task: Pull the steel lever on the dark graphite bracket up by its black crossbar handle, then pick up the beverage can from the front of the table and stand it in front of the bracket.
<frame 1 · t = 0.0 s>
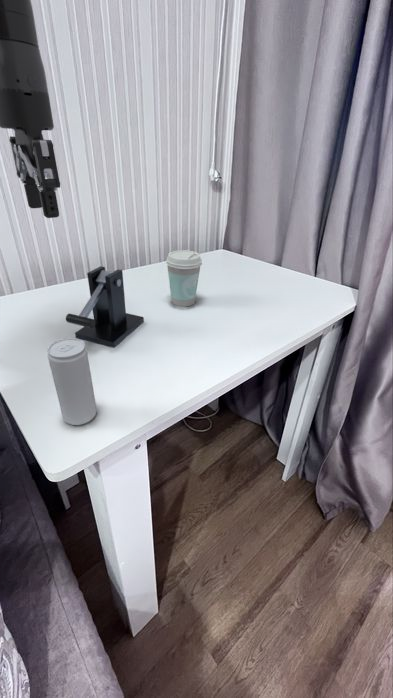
hand: (43, 212, 55), 24 cm above the table, tool pointing down, fingers open, 8 cm apart
beverage can: (80, 416, 49), on the table
coffee cup: (183, 302, 84), on the table
lever: (94, 298, 63), point 9 cm above the table, hinge at -28.0°
bracket: (111, 329, 71), on the table
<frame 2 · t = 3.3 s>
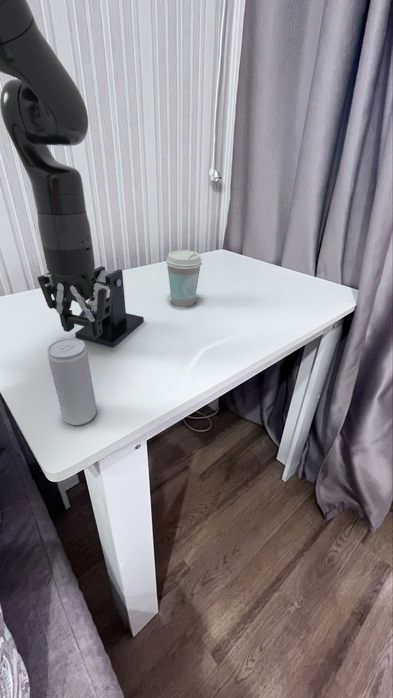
hand: (82, 332, 62), 4 cm above the table, tool pointing down, fingers closed on lever, 5 cm apart
lever: (94, 298, 63), point 9 cm above the table, hinge at -28.0°, touching gripper
everything else where it was.
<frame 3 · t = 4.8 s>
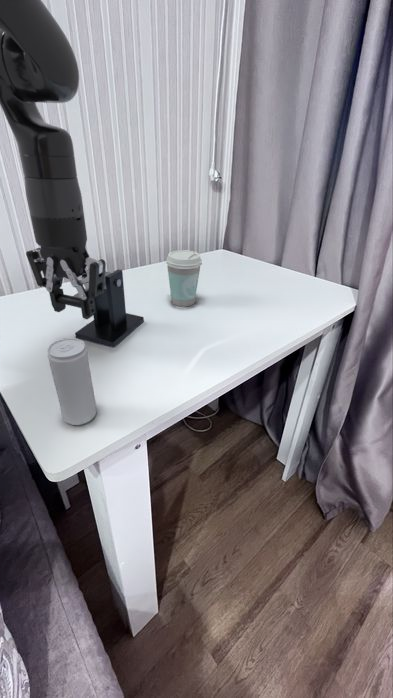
hand: (74, 313, 58), 8 cm above the table, tool pointing down, fingers closed on lever, 5 cm apart
lever: (91, 289, 61), point 11 cm above the table, hinge at -1.7°, touching gripper
everything else where it was.
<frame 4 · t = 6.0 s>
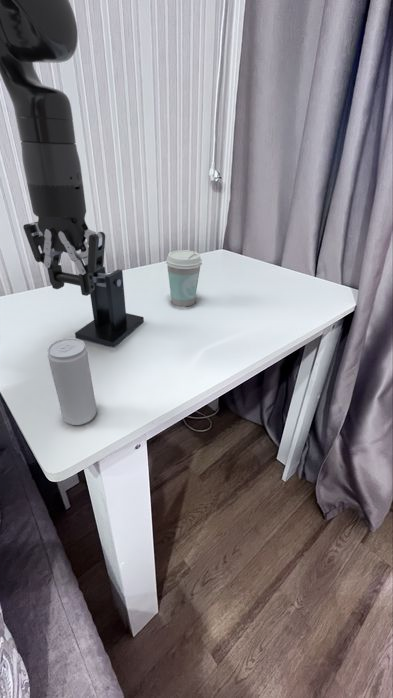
hand: (73, 290, 56), 12 cm above the table, tool pointing down, fingers closed on lever, 5 cm apart
lever: (90, 279, 60), point 13 cm above the table, hinge at 20.5°, touching gripper
everything else where it was.
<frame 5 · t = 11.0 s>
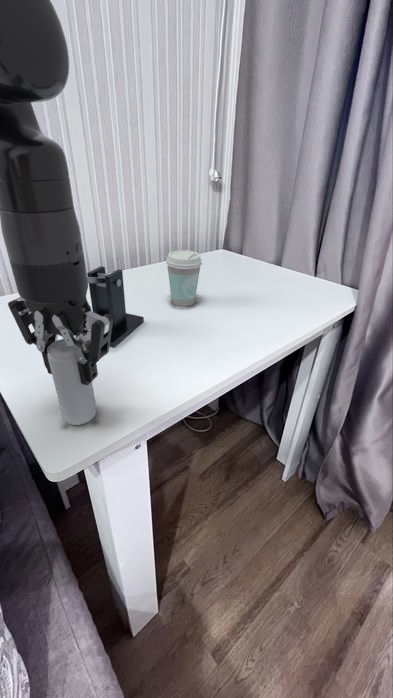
hand: (72, 375, 45), 7 cm above the table, tool pointing down, fingers closed on beverage can, 5 cm apart
beverage can: (80, 416, 49), on the table, touching gripper
lever: (90, 280, 60), point 13 cm above the table, hinge at 19.4°
everything else where it was.
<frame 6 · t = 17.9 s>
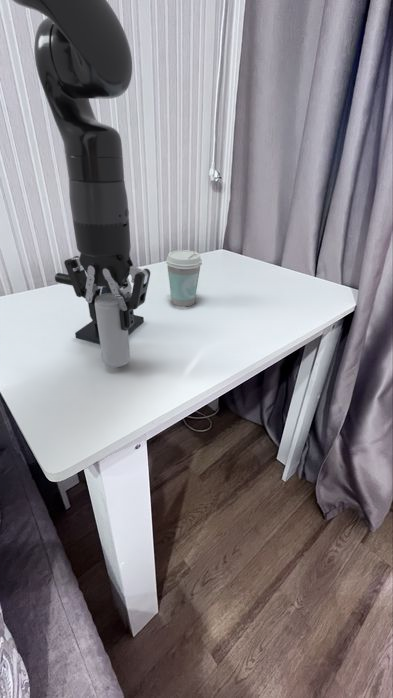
hand: (112, 324, 55), 9 cm above the table, tool pointing down, fingers closed on beverage can, 4 cm apart
beverage can: (116, 362, 59), point 1 cm above the table, touching gripper
lever: (90, 280, 60), point 13 cm above the table, hinge at 19.1°
everything else where it was.
when the fingers open (7 cm above the table, at t = 18.7 s): beverage can stays where it is, on the table.
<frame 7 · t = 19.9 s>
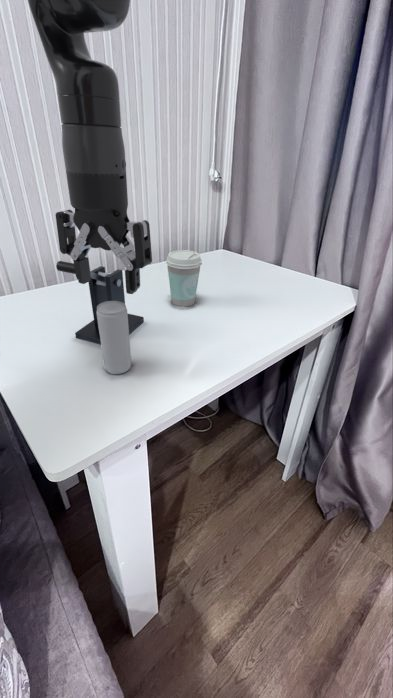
hand: (108, 287, 51), 15 cm above the table, tool pointing down, fingers open, 8 cm apart
beverage can: (118, 368, 59), on the table
lever: (91, 275, 60), point 13 cm above the table, hinge at 30.4°
everything else where it was.
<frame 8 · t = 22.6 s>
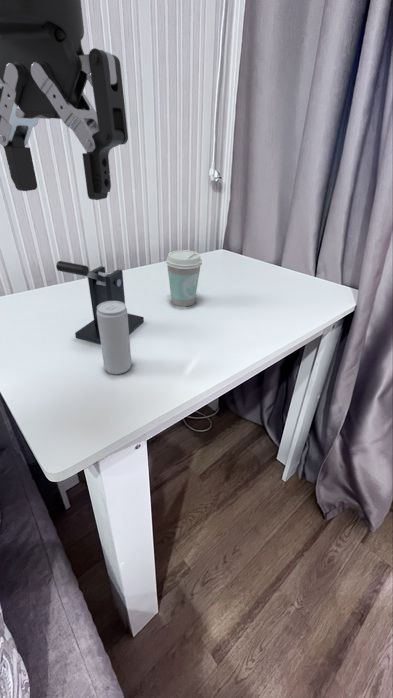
hand: (61, 194, 32), 30 cm above the table, tool pointing down, fingers open, 8 cm apart
nothing on the table moved.
at the end: lever at +30° (first picture: -28°); beverage can inside the target area on the table beside the bracket (0.3 cm from its centre), on the table; beverage can tilted 0° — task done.
